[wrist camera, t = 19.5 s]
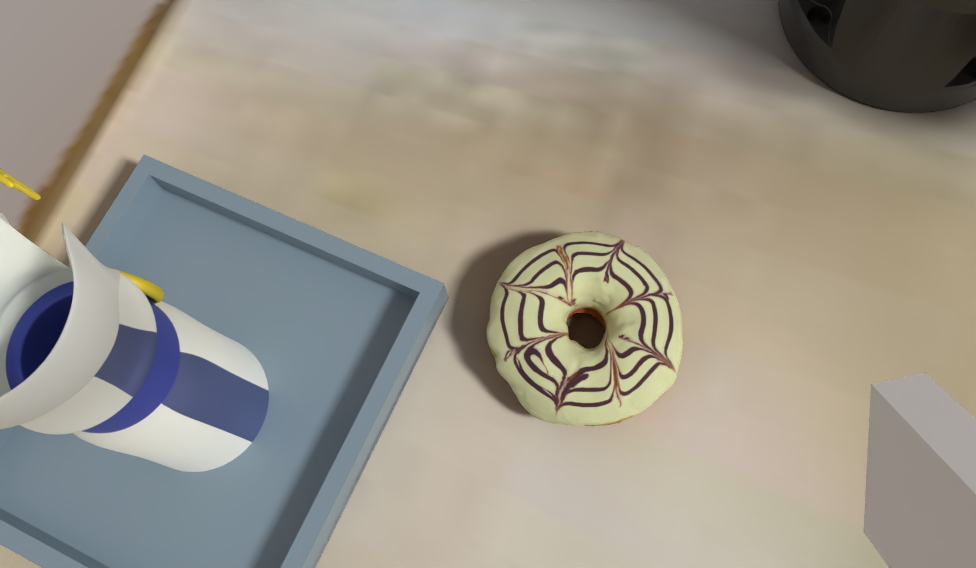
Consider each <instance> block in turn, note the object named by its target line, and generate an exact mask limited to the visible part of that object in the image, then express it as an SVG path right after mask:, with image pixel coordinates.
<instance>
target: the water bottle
mask: <svg viewBox="0 0 976 568" xmlns="http://www.w3.org/2000/svg"><path fill="white" fill-rule="evenodd" d="M0 182H1V183H3V184H4V185H6V186H8V187H9V188H13V187H14V188H16V189H18V190H19V191H21V192H23V193H25V194H26V195H28V196H30V197H32V198H33V199H35V200H39V199H40V195H39V194H37V193H36V192H34V191H33V190H31V189H30V188H28V187H26V186H25V185H23V184H22V183H20V182H18V181H17V180H16V179H14V178H13V177H11V176H10V175H8V174H7V173H5V172H4V171H3V170H2V169H0ZM62 234H63V239H64V243H65V247H66V251H67V255H68V259H69V265H70V266H67V265H65V264H63V263H62V262H60V261H59V260H57V259H55V258H54V257H52V256H51V255H49V254H48V253H47V252H45V251H44V250H42V249H41V248H39V247H38V246H36V245H35V244H34V243H32V242H31V241H29V240H28V239H27V238H25V237H24V236H23V235H21V234H20V233H19V232H17V231H16V230H15V229H14V228H12V227H11V226H10V225H9V223H8V221H7V219H6V218H5V216H4V215H3V214H2V213H1V212H0V429H5V428H9V427H14V426H17V425H20V426H22V427H24V428H27V429H29V430H32V431H35V432H39V433H44V434H56V435H59V434H70V433H73V434H74V435H76V436H77V437H79V438H80V439H82V440H84V441H86V442H89V443H91V444H94V445H96V446H99V447H102V448H106V449H109V450H113V451H117V452H121V453H125V454H129V455H133V456H137V457H140V458H144V459H147V460H150V461H153V462H156V463H159V464H161V465H164V466H167V467H170V468H172V469H176V470H179V471H185V472H202V471H208V470H212V469H215V468H218V467H221V466H223V465H225V464H227V463H229V462H230V461H232V460H234V459H235V458H236V457H238V456H239V455H240V454H241V453H243V452H244V451H245V450H246V449H247V448H248V447H249V446H250V444H251V443H252V442H253V441H254V439H255V438H256V436H257V435H258V433H259V431H260V429H261V427H262V425H263V423H264V420H265V417H266V414H267V409H268V403H269V389H268V382H267V378H266V375H265V372H264V370H263V368H262V366H261V364H260V362H259V361H258V360H257V358H256V357H255V356H254V355H253V354H252V353H251V352H250V351H249V350H248V349H247V348H246V347H244V346H243V345H241V344H240V343H238V342H236V341H234V340H232V339H230V338H228V337H226V336H224V335H222V334H220V333H218V332H216V331H214V330H212V329H210V328H209V327H207V326H205V325H203V324H202V323H200V322H198V321H197V320H195V319H194V318H192V317H190V316H189V315H187V314H186V313H184V312H182V311H180V310H179V309H177V308H175V307H173V306H171V305H169V304H167V303H164V302H162V300H163V298H164V292H163V290H162V289H161V288H160V287H159V286H157V285H155V284H154V283H152V282H150V281H147V280H145V279H143V278H140V277H138V276H135V275H132V274H129V273H126V272H123V271H120V270H116V269H112V268H108V267H106V266H104V265H103V264H102V263H100V262H99V261H98V260H97V259H96V258H95V257H94V256H93V255H92V254H91V253H90V252H89V251H88V249H87V248H86V247H85V246H84V245H83V244H82V243H81V242H80V241H79V240H78V239H77V238H76V236H75V235H74V234H73V233H72V232H71V231H70V229H69V228H68V227H67V226H66V224H65V223H64V222H63V223H62Z"/></svg>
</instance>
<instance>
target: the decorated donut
mask: <svg viewBox="0 0 976 568" xmlns="http://www.w3.org/2000/svg"><path fill="white" fill-rule="evenodd" d="M573 313H586V314H587V313H589V314H592V316H593V317H597V319H598V320H599V321H600V322H601V324H602V326H604V328H605V329H606V330H605V333H604V335H603V338H602V341H601V342H600V344H599V345H598V346H597V347H595V348H592V349H587V348H584V347H582V346H580V345H579V344H578V343H577V342H576V341H574V340H570V339H569V333H568V326H567V324H566V323H567V320H568V318H569V317H570V316H571V315H573ZM486 332H487V340H488V344H489V347H490V351H491V353H492V354H493V356H494V357H495V361H496V368H497V371H498V372H499V373H500V375H501V376H502V377H503V378H504V379H505V380H506V381H507V382H508V383H509V384H510V386H511V388H512V390H513V392H514V393H515V394H516V396H517V398H518V400H519V402H520V403H521V405H522V406H523V407H524V408H525V409H526V410H527V411H528V412H529V413H530V414H531V415H533V416H534V417H536V418H538V419H540V420H543V421H546V422H551V423H562V424H568V425H572V426H582V425H584V426H596V425H610V424H615V423H619V422H621V421H623V420H625V419H627V418H630V417H632V416H634V415H636V414H638V413H640V412H641V411H643V410H645V409H646V408H648V407H649V406H650V405H651V404H652V403H654V402H655V401H656V400H657V398H658V397H659V396H661V395H662V394H663V393H664V392H665V391H666V390H667V389H668V388H670V387H671V386H672V385H673V384H674V382H675V379H676V376H677V372H678V367H679V363H680V360H681V356H682V350H683V349H682V348H683V338H682V322H681V311H680V308H679V304H678V300H677V298H676V295H675V293H674V292H673V290H672V288H671V285H670V283H669V281H668V279H667V277H666V275H665V274H664V272H663V270H662V269H661V268H660V267H659V266H658V265H657V264H656V263H655V261H654V260H653V258H652V257H651V256H650V255H648V254H647V253H646V252H645V251H643V250H642V249H640V248H639V247H638V246H634V245H631V244H630V243H628V242H625V241H624V240H622V239H620V238H618V237H615V236H611V235H607V234H604V233H602V232H593V231H590V232H577V233H568V234H565V235H562V236H560V237H557V238H553V239H552V240H550V241H547V242H545V243H543V244H540V245H536V246H534V247H531V248H529V249H527V250H525V251H524V252H522V253H521V254H520V255H519V256H517V257H516V258H515V259H514V260H513V261H512V262H510V264H509V265H508V266H507V268H506V269H505V271H504V272H503V274H502V276H501V278H500V279H499V280H498V282H497V284H496V287H495V290H494V292H493V294H492V297H491V302H490V318H489V322H488V325H487V331H486Z"/></svg>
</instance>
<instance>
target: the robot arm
mask: <svg viewBox="0 0 976 568" xmlns="http://www.w3.org/2000/svg"><path fill="white" fill-rule="evenodd" d="M779 10H780V17H781V21H782V25H783V28H784V31H785V33H786V36H787V38H788V40H789V42H790V44H791V45H792V47H793V49H794V50H795V52H796V53H797V55H798V56H799V58H800V59H801V60H802V61H803V63H804V64H805V65H806V66H807V67H808V68H809V69H810V70H811V71H812V72H813V73H814V74H815V75H816V76H817V77H819V78H820V79H821V80H822V81H824V82H825V83H826V84H828V85H829V86H831V87H832V88H834V89H835V90H837V91H839V92H840V93H842V94H844V95H846V96H848V97H850V98H852V99H855V100H857V101H860V102H862V103H865V104H868V105H871V106H874V107H878V108H882V109H887V110H893V111H901V112H932V111H939V110H944V109H949V108H953V107H956V106H960V105H962V104H965V103H968V102H970V101H972V100H974V99H976V0H779ZM864 533H865V534H866V536H867V537H868V539H869V540H870V541H871V543H872V544H873V546H874V547H875V548H876V550H877V551H878V552H879V554H880V555H881V557H882V558H883V559H884V561H885V562H886V564H887V565H888V566H889V568H976V419H975V418H974V417H973V416H972V415H971V414H970V413H969V412H968V411H967V410H966V409H964V408H963V407H962V406H961V405H960V404H959V403H958V402H957V401H956V400H955V399H954V398H953V397H951V396H950V395H949V394H948V393H947V392H946V391H945V390H944V389H943V388H942V387H941V386H940V385H938V384H937V383H936V382H935V381H934V380H933V379H932V378H931V377H930V376H929V375H928V374H927V373H922V374H917V375H912V376H907V377H902V378H897V379H892V380H888V381H883V382H878V383H873V384H871V396H870V416H869V435H868V455H867V474H866V494H865V514H864Z"/></svg>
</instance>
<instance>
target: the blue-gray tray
mask: <svg viewBox="0 0 976 568" xmlns="http://www.w3.org/2000/svg"><path fill="white" fill-rule="evenodd" d="M85 247H86V248H87V249H88V251H89V252H90V253H91V254H92V255H93V256H94V257H95V258H96V259H97V260H98V261H99V262H100V263H102V264H103V265H104V266H106V267H108V268H112V269H116V270H120V271H123V272H126V273H129V274H132V275H135V276H138V277H140V278H143V279H145V280H147V281H150V282H152V283H154V284H155V285H157V286H159V287H160V288H161V289H162V290H163V292H164V298H163V300H162V302H164V303H167V304H169V305H171V306H173V307H175V308H177V309H179V310H180V311H182V312H184V313H186V314H187V315H189V316H190V317H192V318H194V319H195V320H197V321H198V322H200V323H202V324H203V325H205V326H207V327H209V328H210V329H212V330H214V331H216V332H218V333H220V334H222V335H224V336H226V337H228V338H230V339H232V340H234V341H236V342H238V343H240V344H241V345H243V346H244V347H246V348H247V349H248V350H249V351H250V352H251V353H252V354H253V355H254V356H255V357H256V358H257V360H258V361H259V362H260V364H261V366H262V368H263V370H264V372H265V375H266V378H267V382H268V389H269V403H268V409H267V414H266V417H265V420H264V423H263V425H262V427H261V429H260V431H259V433H258V435H257V436H256V438H255V439H254V441H253V442H252V443H251V444H250V446H249V447H248V448H247V449H246V450H245V451H244V452H243V453H241V454H240V455H239V456H238V457H236V458H235V459H234V460H232V461H230V462H229V463H227V464H225V465H223V466H221V467H218V468H215V469H212V470H208V471H202V472H185V471H179V470H176V469H172V468H170V467H167V466H164V465H161V464H159V463H156V462H153V461H150V460H147V459H144V458H140V457H137V456H133V455H129V454H125V453H121V452H117V451H113V450H109V449H106V448H102V447H99V446H96V445H94V444H91V443H89V442H86V441H84V440H82V439H80V438H79V437H77V436H76V435H74V434H73V433H70V434H59V435H56V434H44V433H39V432H35V431H32V430H29V429H27V428H24V427H22V426H20V425H17V426H14V427H9V428H5V429H0V544H1V545H3V546H5V547H6V548H8V549H10V550H12V551H14V552H15V553H17V554H19V555H21V556H23V557H24V558H26V559H28V560H30V561H32V562H33V563H35V564H37V565H39V566H41V567H42V568H315V567H316V565H317V563H318V561H319V559H320V556H321V554H322V552H323V550H324V548H325V546H326V544H327V542H328V540H329V538H330V536H331V534H332V532H333V530H334V528H335V526H336V524H337V522H338V520H339V518H340V516H341V514H342V512H343V510H344V508H345V506H346V504H347V502H348V500H349V498H350V496H351V494H352V492H353V490H354V488H355V486H356V484H357V482H358V480H359V478H360V476H361V474H362V472H363V470H364V468H365V466H366V464H367V461H368V459H369V457H370V455H371V453H372V451H373V449H374V447H375V445H376V443H377V441H378V439H379V437H380V435H381V433H382V431H383V429H384V427H385V425H386V423H387V421H388V419H389V417H390V415H391V413H392V411H393V409H394V407H395V405H396V403H397V401H398V399H399V397H400V395H401V393H402V391H403V389H404V387H405V385H406V383H407V381H408V379H409V377H410V375H411V373H412V371H413V369H414V366H415V364H416V362H417V360H418V358H419V356H420V354H421V352H422V350H423V348H424V346H425V344H426V342H427V340H428V338H429V336H430V334H431V332H432V330H433V328H434V326H435V324H436V322H437V320H438V318H439V316H440V314H441V312H442V310H443V308H444V306H445V304H446V302H447V300H448V298H449V297H448V294H447V291H446V288H445V285H444V283H441V282H439V281H437V280H434V279H432V278H430V277H427V276H425V275H423V274H420V273H418V272H416V271H413V270H411V269H409V268H406V267H404V266H402V265H399V264H397V263H395V262H392V261H390V260H388V259H385V258H383V257H381V256H378V255H376V254H374V253H372V252H369V251H367V250H365V249H362V248H360V247H358V246H355V245H353V244H351V243H348V242H346V241H344V240H341V239H339V238H337V237H334V236H332V235H330V234H327V233H325V232H323V231H320V230H318V229H316V228H313V227H311V226H309V225H306V224H304V223H302V222H299V221H297V220H295V219H292V218H290V217H288V216H285V215H283V214H281V213H279V212H276V211H274V210H272V209H269V208H267V207H265V206H262V205H260V204H258V203H255V202H253V201H251V200H248V199H246V198H244V197H241V196H239V195H237V194H234V193H232V192H230V191H227V190H225V189H223V188H220V187H218V186H216V185H213V184H211V183H209V182H206V181H204V180H202V179H199V178H197V177H195V176H192V175H190V174H188V173H186V172H183V171H181V170H179V169H176V168H174V167H172V166H169V165H167V164H165V163H162V162H160V161H158V160H155V159H153V158H151V157H148V156H146V155H143V157H142V158H141V160H140V161H139V163H138V164H137V166H136V168H135V169H134V171H133V172H132V174H131V175H130V177H129V179H128V180H127V182H126V183H125V185H124V186H123V188H122V189H121V191H120V193H119V194H118V196H117V197H116V199H115V200H114V202H113V204H112V205H111V207H110V208H109V210H108V211H107V213H106V214H105V216H104V218H103V219H102V221H101V222H100V224H99V225H98V227H97V229H96V230H95V232H94V233H93V235H92V236H91V238H90V239H89V241H88V243H87V244H86V246H85Z"/></svg>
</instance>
